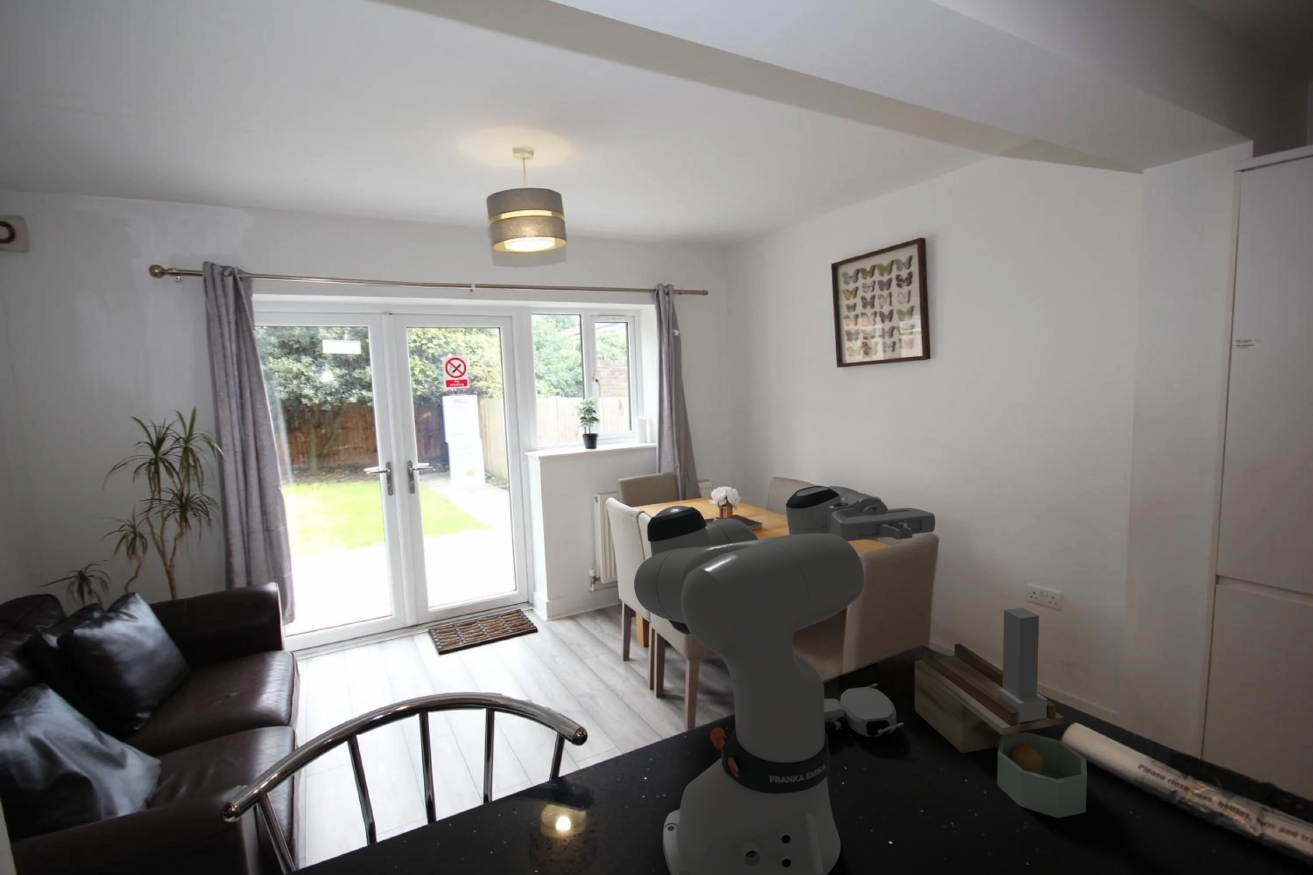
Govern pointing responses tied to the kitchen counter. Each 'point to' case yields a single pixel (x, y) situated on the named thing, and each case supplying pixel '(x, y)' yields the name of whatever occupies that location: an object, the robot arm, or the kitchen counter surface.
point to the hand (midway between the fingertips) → (905, 534)
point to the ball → (1028, 759)
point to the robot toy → (861, 712)
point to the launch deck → (968, 700)
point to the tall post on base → (1021, 665)
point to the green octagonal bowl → (1044, 776)
